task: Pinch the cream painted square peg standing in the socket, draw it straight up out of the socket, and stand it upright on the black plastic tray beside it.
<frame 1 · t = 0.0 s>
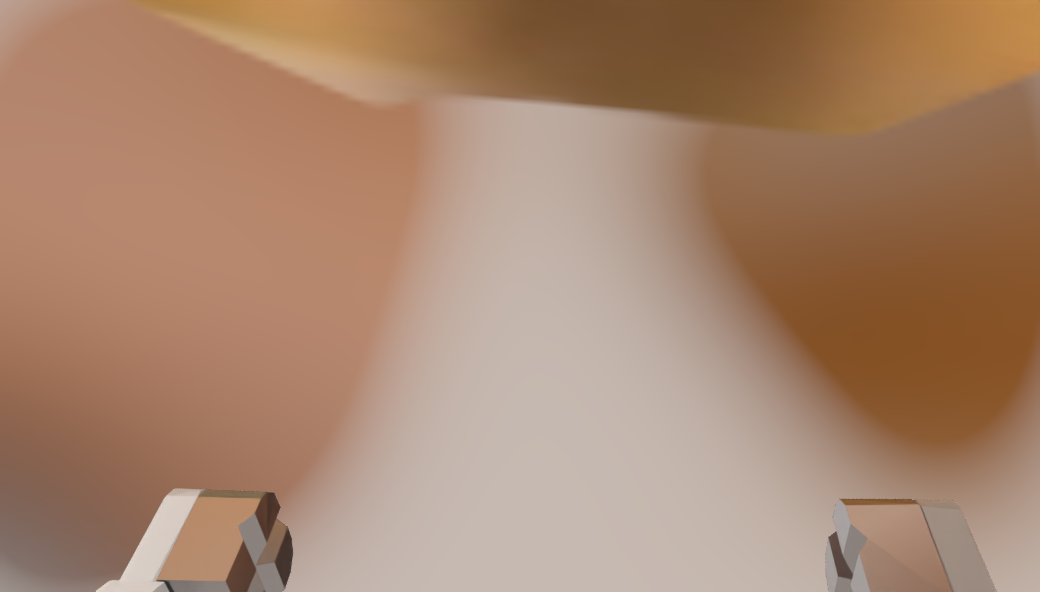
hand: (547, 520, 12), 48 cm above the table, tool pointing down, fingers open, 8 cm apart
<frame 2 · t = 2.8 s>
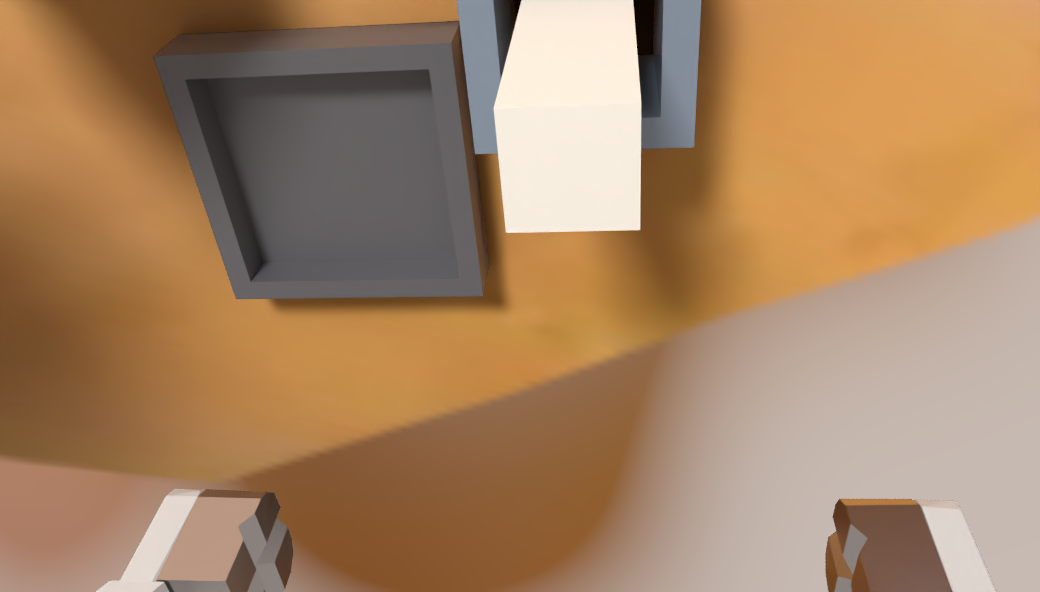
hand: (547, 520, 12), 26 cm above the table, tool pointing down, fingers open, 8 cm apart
tray: (345, 158, 38), on the table
peg: (578, 60, 27), in the socket
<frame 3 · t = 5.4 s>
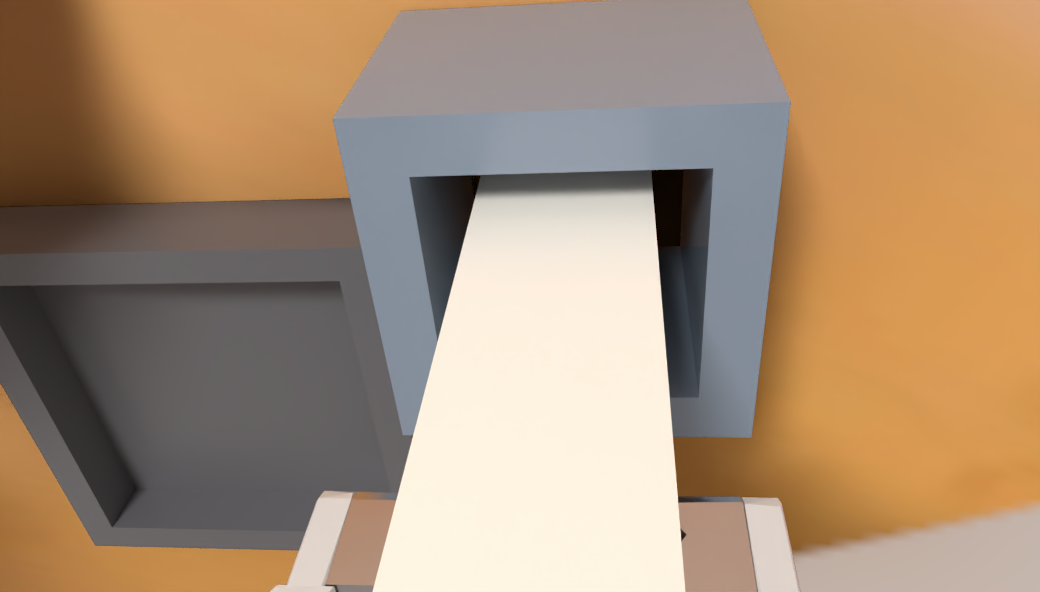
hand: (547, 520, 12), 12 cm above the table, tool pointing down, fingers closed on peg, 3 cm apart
tray: (239, 366, 27), on the table
socket: (575, 158, 22), on the table
peg: (561, 343, 16), in the socket, touching gripper
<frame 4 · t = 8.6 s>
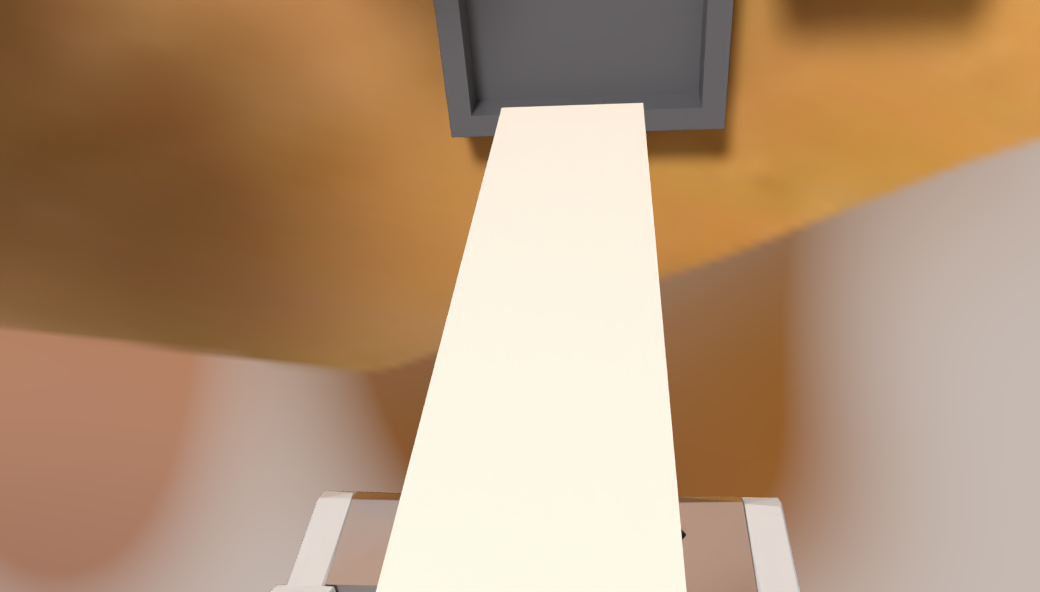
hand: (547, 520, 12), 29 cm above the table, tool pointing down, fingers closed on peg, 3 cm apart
peg: (561, 350, 16), point 25 cm above the table, touching gripper
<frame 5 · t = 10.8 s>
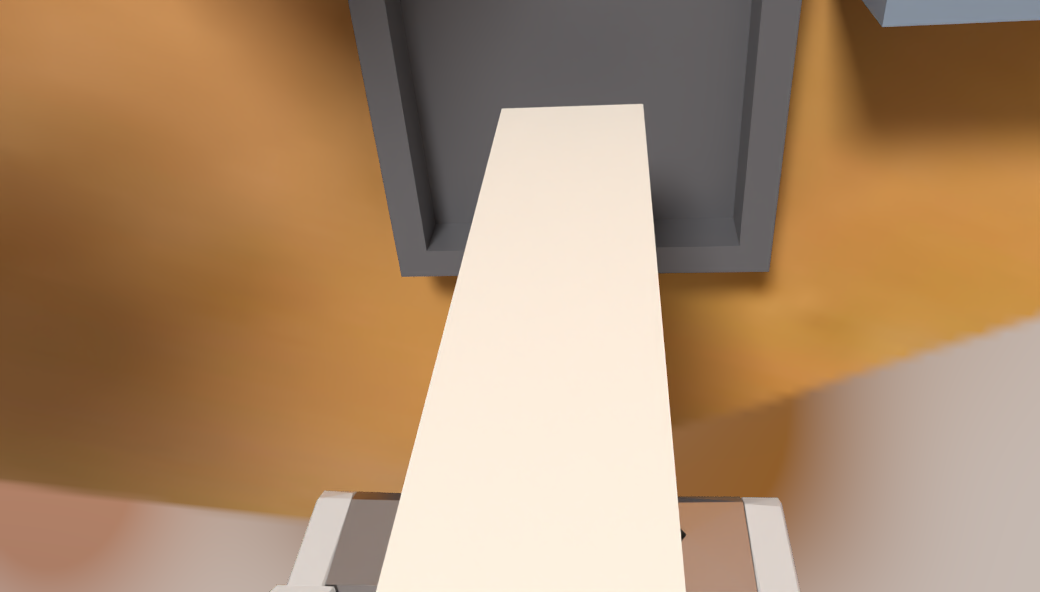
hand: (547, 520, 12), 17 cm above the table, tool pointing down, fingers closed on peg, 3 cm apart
tray: (576, 68, 26), on the table
peg: (561, 351, 16), point 13 cm above the table, touching gripper
when the fingers open (14 cm above the table, at t = 12.3 s): peg drops 1 cm, resting on tray.
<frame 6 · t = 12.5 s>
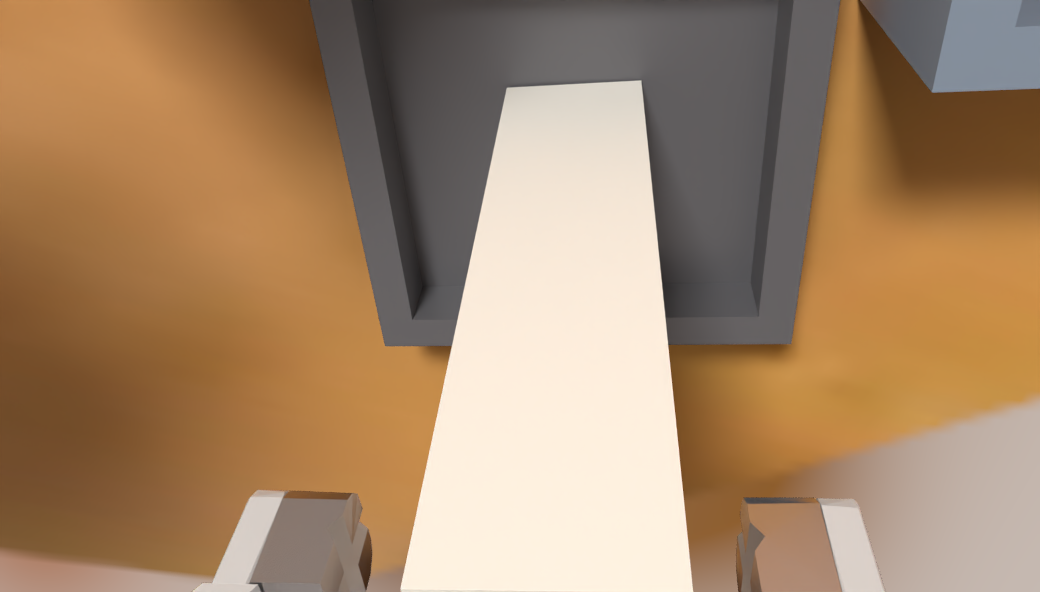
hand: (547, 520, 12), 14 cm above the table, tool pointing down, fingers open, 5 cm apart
tray: (577, 121, 24), on the table
peg: (569, 315, 17), in the tray, point 8 cm above the table
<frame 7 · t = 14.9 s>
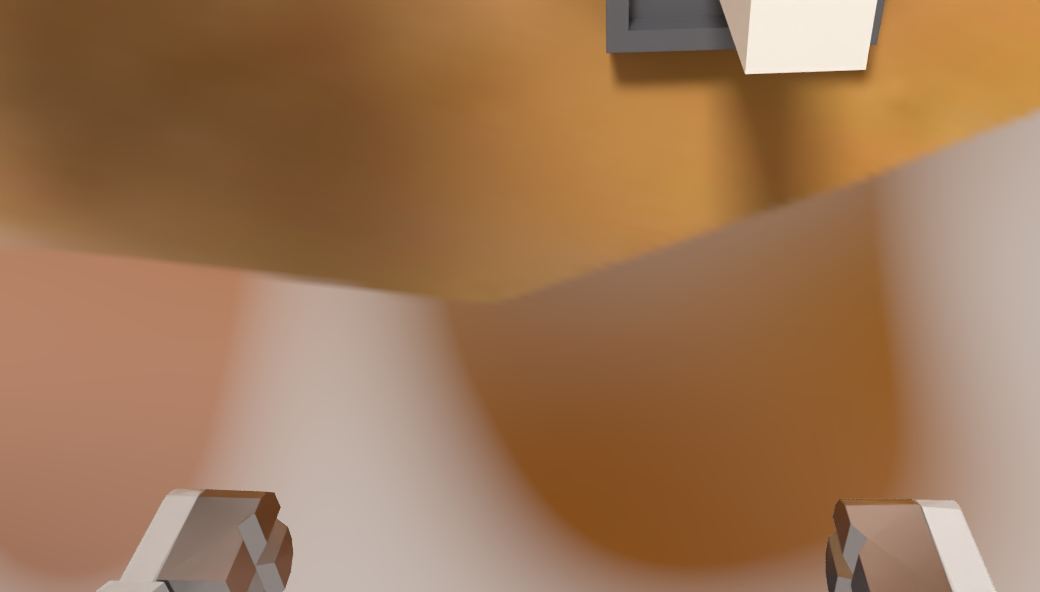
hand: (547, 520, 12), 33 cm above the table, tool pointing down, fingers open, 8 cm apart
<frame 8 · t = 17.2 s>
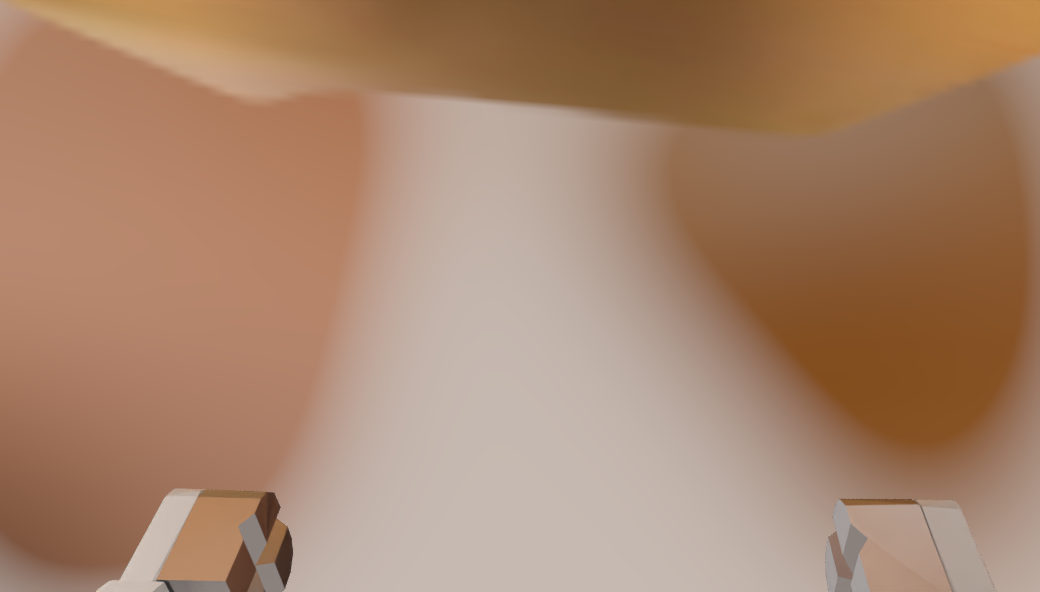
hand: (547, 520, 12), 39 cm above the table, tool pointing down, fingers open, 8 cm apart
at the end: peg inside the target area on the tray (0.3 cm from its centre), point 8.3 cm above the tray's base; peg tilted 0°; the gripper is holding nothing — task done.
